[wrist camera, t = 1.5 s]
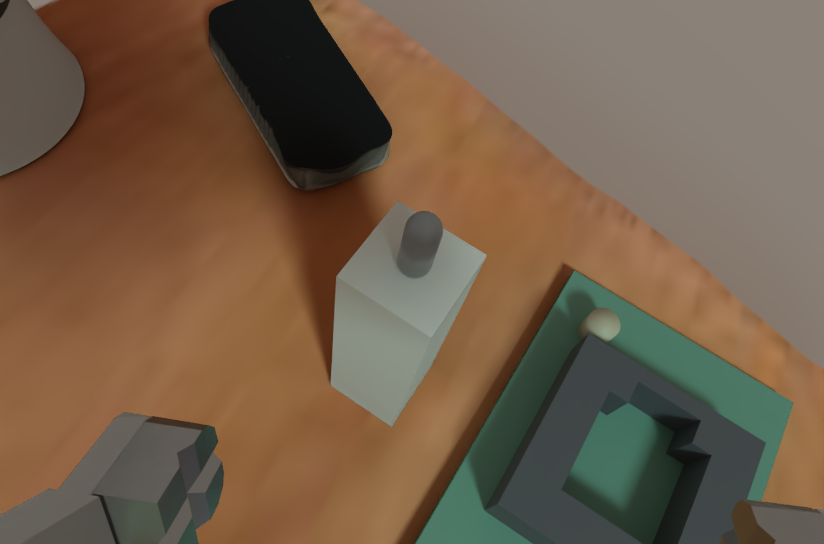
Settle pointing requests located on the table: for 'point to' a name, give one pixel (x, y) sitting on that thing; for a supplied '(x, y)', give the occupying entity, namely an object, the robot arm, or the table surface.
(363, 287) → the plug
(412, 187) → the table surface
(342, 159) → the black scrub brush
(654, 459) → the board
